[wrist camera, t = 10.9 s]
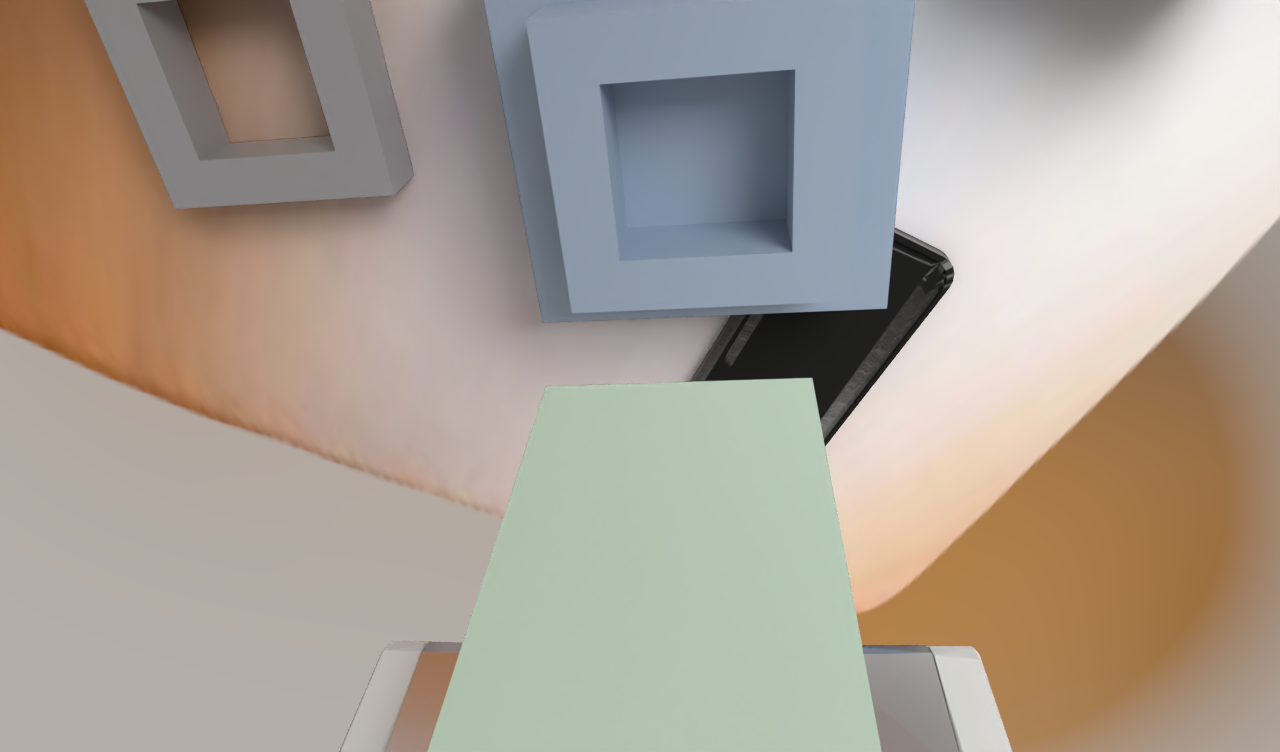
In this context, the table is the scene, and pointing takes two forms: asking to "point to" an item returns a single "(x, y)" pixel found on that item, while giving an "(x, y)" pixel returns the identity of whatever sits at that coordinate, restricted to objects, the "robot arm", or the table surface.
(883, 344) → the phone
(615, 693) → the plug block
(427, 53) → the table surface
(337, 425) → the table surface
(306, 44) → the low socket
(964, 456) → the table surface
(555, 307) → the raised dock
